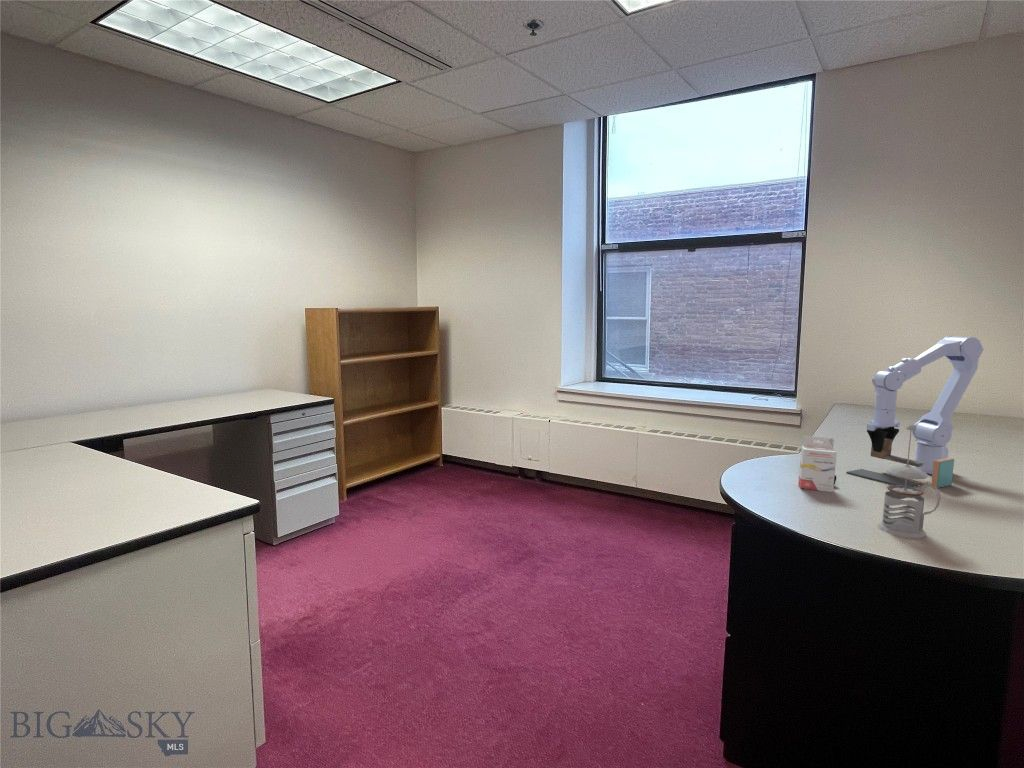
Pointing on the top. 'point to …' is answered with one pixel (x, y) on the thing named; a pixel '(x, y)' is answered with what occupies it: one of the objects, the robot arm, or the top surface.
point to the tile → (942, 472)
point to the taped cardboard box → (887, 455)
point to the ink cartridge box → (817, 464)
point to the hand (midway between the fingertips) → (881, 450)
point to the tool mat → (883, 478)
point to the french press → (905, 502)
